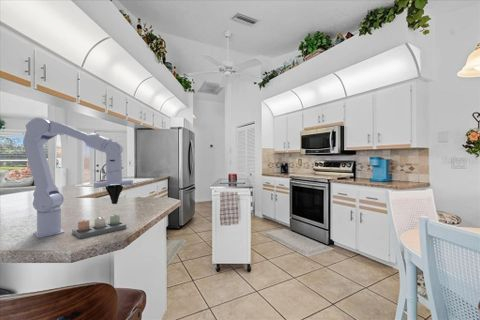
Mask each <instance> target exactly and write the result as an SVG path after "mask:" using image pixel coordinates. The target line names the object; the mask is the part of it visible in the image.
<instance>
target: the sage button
mask: <svg viewBox="0 0 480 320" xmlns="http://www.w3.org/2000/svg"><path fill="white" fill-rule="evenodd" d="M120 216H121V215H120V214H117V213H115V214H110V215H109V222H110V225H117V224H120V222H121V221H120V218H121V217H120Z"/></svg>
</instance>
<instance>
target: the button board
mask: <svg viewBox="0 0 480 320" xmlns="http://www.w3.org/2000/svg"><path fill="white" fill-rule="evenodd" d="M89 226H90V230H88V231H83V232H78V227H77V228H73V229H71V233H72V234H73V236H75V237H76V238H78V239H85V238H90V237H94V236H99V235H103V234H108V233H111V232H115V231H120V230H125V229H127V224H126V223H123V222H121V221H120V224H117V225H110V221H108V222H105V227H103V228H95V224H93V225H89Z"/></svg>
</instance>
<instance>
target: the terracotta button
mask: <svg viewBox="0 0 480 320" xmlns="http://www.w3.org/2000/svg"><path fill="white" fill-rule="evenodd" d="M90 226H91V225H90V220H89V219H83V220H78V221H77V228H78V232H83V231H88V230H90Z"/></svg>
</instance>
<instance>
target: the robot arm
mask: <svg viewBox="0 0 480 320" xmlns="http://www.w3.org/2000/svg"><path fill="white" fill-rule="evenodd" d="M25 128H26V131H25V134H24V136H23V137H24V138H23V141H22V144H23V148H24V151H25V154H26V155H25V156H26V158H27V161H28V162H27V163H28V165H29V168H30V172H31V175H32V179H33V182H34V186H35V190H34V192H33V193H32V197H33V201H32V206H33V207H32V208H33V209H35V211H36V231H33V234H34V235H35V237H36V238H37V239H40V238H45V237H50V236H54V235H58V234H59V235H60V234H64V233H65V230H63V229H62V207H61V205H62V204H64V200H65V199H64V195H63V194H62V193H61V192H60V190H59V188H58V187H57V186H56V185H55V184H54V179H53V176H52V174H51V170H50V165H49V163H48V160H47V156H46V152H45V149H44V145H45V144H46V143H47V142H48V141H50V140H51V139H53V138H56V137H57V136H64V135H66V136H69V137H72V138H74V139H77V140H79V141H83V143H85V145H86V147H89V148H91V149H94V150H96V151H99V152H101V153H105V155H106V157H105V158H106V159H105V176H106V177H105V180H106V181H100V182H93V188H94V189H98V188H105V190H106V191H107V193H108V195H109V198H110V201H111V204H112V205H117V204H118V201H119V198H120V196H121V193H122V191H123V190H124V186H130V185H131V186H133V185H134V180H132V179H130V180H129V179H128V180H127V179H126V180H123V167H122V166H123V163H122V161H123V159H122V153H123V150H124V148H123V146H122V145H121V144H120V143H118V142H117V141H116V142H115V141H113V139H111V138H107V137H104V136H102V135H101V134H100V133H98V132H96V133H94V132H93V133H90V134H87V133H86V132H83V131H81V130H79V129H75V128H73V127H72V126H69V125H68V124H64V123H61V122H59V121H58V122H56V121H54V120H49V119H48V120H47V119H45V118H43V117H40V116H39V117H34V118H32V119H30V120H29V121H28V122H27V123H26V124H25Z"/></svg>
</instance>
